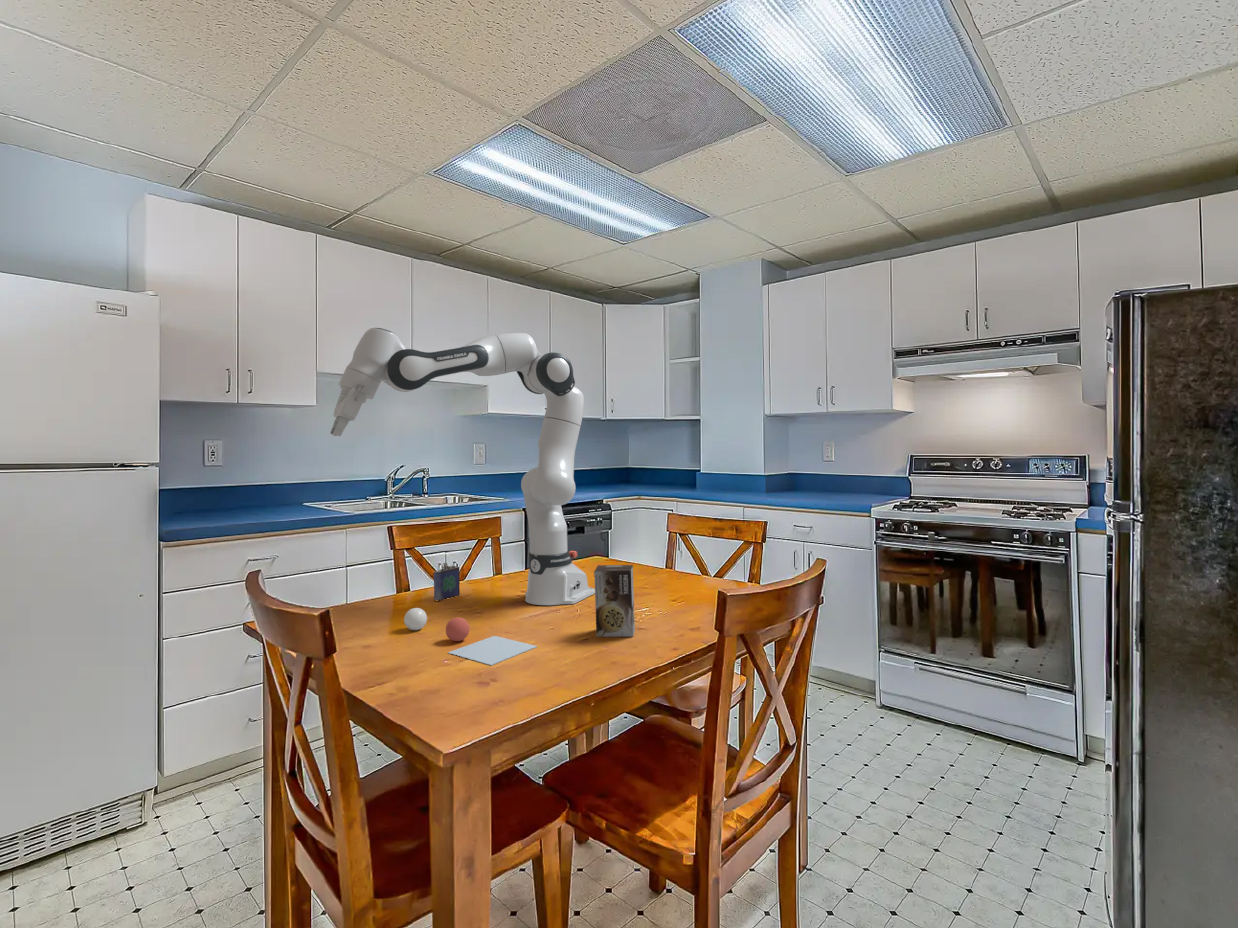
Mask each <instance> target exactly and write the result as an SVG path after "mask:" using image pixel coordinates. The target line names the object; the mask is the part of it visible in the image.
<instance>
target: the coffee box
mask: <svg viewBox="0 0 1238 928" xmlns="http://www.w3.org/2000/svg"><path fill="white" fill-rule="evenodd" d="M593 573H594V575H593V576H594V579H593V580H594V589H595V593H594V600H595V601H594V602H595V637H597V638H599V637H603V638H604V637H605V638H606V637H621V638H622V637H624V638H625V637H634V635H635V630H636V626H635V625H636V624H635V595H634V594H635V593H634V591H635V590H634V588H635V587H634V565H633V564H611V565H610V564H609V565H608V564H607V565H605V564H603V565H600V564H599V565H596V567H595V569H594V571H593Z"/></svg>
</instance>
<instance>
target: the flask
mask: <svg viewBox="0 0 1238 928" xmlns="http://www.w3.org/2000/svg"><path fill="white" fill-rule="evenodd" d="M460 586H461V585H460V567H459V566H458V565H457V566H456V565H450V566H449V564H448V563H447V562H444V563H442V569H438V570H437V569H436V570H434V571H433V592H434V593H433V600H438V602H440V601H439V600H443V599H447V598H450V599H452V598H451V597H454V598H456V597H455V596H457V597H460V596H459V595H460V594H461V593H460ZM447 600H448V599H447ZM443 601H444V600H443Z"/></svg>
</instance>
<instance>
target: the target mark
mask: <svg viewBox="0 0 1238 928" xmlns="http://www.w3.org/2000/svg"><path fill="white" fill-rule="evenodd" d="M536 648H538V646H537V645H534V644H530V643H526V642H521V641H518V640H514V639H510V638H507V637H506V638H505V637H501V636H497V635H492V636H490V637H487V638H485V639H484V638H483V639H482V640H479V641H475V642H473V643H470V644H467V645H465V646H462V647H459V648H456V649H453V650H451V651H447V654H449V655H452V654H453V656H456V655H457V656H456V657H459V656H460V657H459V658H463V659H466V658H467V660H471V661H473V660H474V661H473V662H477V663H482V664H484V665H488V666H493V665H496V664H498V663H501V662H503V661H506V660H508V659H511V658H513V657H516V656H518V655H521V654H523V653H526V652H529V651H530V650H533V649H536Z"/></svg>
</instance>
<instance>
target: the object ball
mask: <svg viewBox="0 0 1238 928" xmlns="http://www.w3.org/2000/svg"><path fill="white" fill-rule="evenodd" d="M445 634H446V637H447V638H448V639H449V640H451V641H453V642H462V641H463V640H465V639H466V638H467V637H468V636H469V634H470V625H469V622H468V621H467V620H466V619H465V618H462V617H459V616H458V617H454V618H452V619H450V620H449V621H448V622H447V624H446V626H445Z"/></svg>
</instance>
